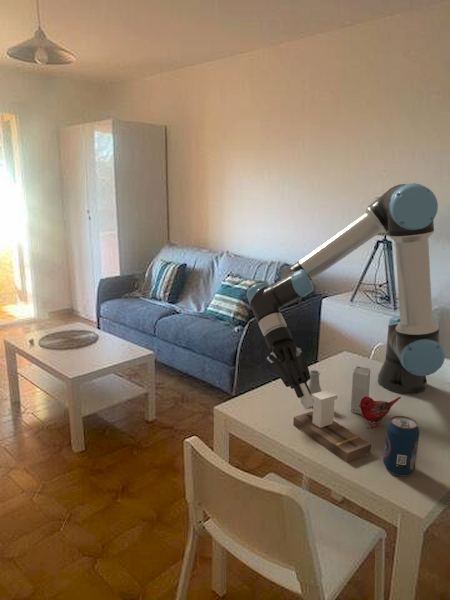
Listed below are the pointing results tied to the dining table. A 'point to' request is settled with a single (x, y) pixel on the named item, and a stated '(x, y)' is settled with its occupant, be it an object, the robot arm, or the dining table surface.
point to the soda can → (401, 445)
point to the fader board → (334, 438)
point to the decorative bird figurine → (375, 409)
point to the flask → (314, 382)
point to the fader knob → (323, 408)
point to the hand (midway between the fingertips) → (309, 407)
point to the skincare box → (359, 387)
